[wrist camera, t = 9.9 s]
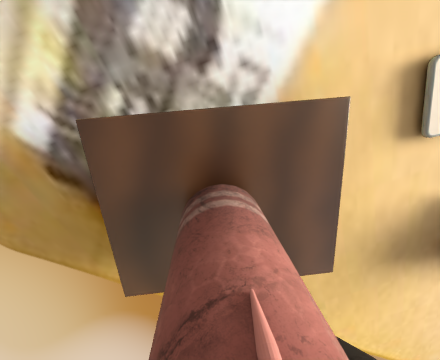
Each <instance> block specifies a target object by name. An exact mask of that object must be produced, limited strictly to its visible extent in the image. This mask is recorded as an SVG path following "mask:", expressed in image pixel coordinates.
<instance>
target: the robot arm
mask: <svg viewBox="0 0 440 360" xmlns="http://www.w3.org/2000/svg"><path fill="white" fill-rule="evenodd" d="M336 338H337V340H338V342H339V343H340V345H341V347H342V348H343V350H344V352H345V353H346V355H347V357H348V359H349V360H376V359H375V358H373V357H372V356H370V355H368V354H366V353H365V352H363V351H361V350H359V349H358V348H356V347H354V346H352V345H350V344H349V343H347V342H345V341H343V340H342V339H340V338H338V337H336Z"/></svg>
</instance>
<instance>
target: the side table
mask: <svg viewBox="0 0 440 360" xmlns="http://www.w3.org/2000/svg"><path fill="white" fill-rule="evenodd" d="M350 99H351V97H350V96H349V97H337V98H326V99H314V100H302V101H290V102H278V103H266V104H255V105H243V106H231V107H219V108H207V109H196V110H184V111H172V112H160V113H148V114H136V115H125V116H113V117H101V118H89V119H77V120H76V123H77V127H78V131H79V134H80V138H81V141H82V145H83V148H84V152H85V155H86V159H87V163H88V166H89V170H90V173H91V177H92V180H93V184H94V187H95V191H96V194H97V198H98V202H99V205H100V209H101V212H102V216H103V219H104V223H105V226H106V230H107V234H108V237H109V241H110V244H111V248H112V251H113V255H114V258H115V262H116V266H117V269H118V273H119V276H120V280H121V283H122V287H123V290H124V294H125V297H127V296H136V295H144V294H153V293H161V292H164V291H165V286H166V282H167V277H168V273H169V269H170V264H171V260H172V255H173V251H174V247H175V242H176V238H177V234H178V229H179V225H180V220H181V216H182V212H183V210H184V208H185V206H186V204H187V202H188V200H189V199H190V198H191V197H192V196H194V195H195V194H196V193H197V192H198V191H200V190H202V189H204V188H206V187H208V186H213V185H219V184H226V185H233V186H237V187H239V188H241V189H243V190H245V191H247V192H248V193H249V194H250V195H251V196H252V197H253V198H254V199H255V201H256V202H257V204H258V206H259V207H260V209H261V211H262V212H263V214H264V216H265V218H266V219H267V221H268V223H269V224H270V226H271V228H272V229H273V231H274V233H275V235H276V236H277V238H278V240H279V241H280V243H281V245H282V246H283V248H284V250H285V252H286V253H287V255H288V257H289V258H290V260H291V262H292V263H293V265H294V267H295V269H296V270H297V272H298V274H299V275H300V276H304V275H312V274H321V273H329V272H333V265H334V256H335V246H336V236H337V226H338V216H339V207H340V197H341V187H342V177H343V167H344V158H345V148H346V138H347V128H348V118H349V108H350Z"/></svg>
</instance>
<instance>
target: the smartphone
mask: <svg viewBox="0 0 440 360" xmlns="http://www.w3.org/2000/svg"><path fill="white" fill-rule="evenodd" d="M421 133H422V135H423V136H424V137H428V138H431V137H436V136H440V55H437V56H435V57H433V58H432V59H431V60H430V62H429V64H428V68H427V78H426V88H425V98H424V109H423V119H422V129H421Z"/></svg>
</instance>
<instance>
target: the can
mask: <svg viewBox="0 0 440 360" xmlns="http://www.w3.org/2000/svg"><path fill="white" fill-rule="evenodd" d="M149 360H349V359H348V357H347V355H346V353H345V352H344V350H343V348H342V347H341V345H340V343H339V342H338V340H337V338H336V336H335V335H334V333H333V331H332V330H331V328H330V326H329V325H328V323H327V321H326V319H325V318H324V316H323V314H322V313H321V311H320V309H319V308H318V306H317V304H316V302H315V301H314V299H313V297H312V296H311V294H310V292H309V291H308V289H307V287H306V286H305V284H304V282H303V280H302V279H301V277H300V275H299V274H298V272H297V270H296V269H295V267H294V265H293V263H292V262H291V260H290V258H289V257H288V255H287V253H286V252H285V250H284V248H283V246H282V245H281V243H280V241H279V240H278V238H277V236H276V235H275V233H274V231H273V229H272V228H271V226H270V224H269V223H268V221H267V219H266V218H265V216H264V214H263V212H262V211H261V209H260V207H259V206H258V204H257V202H256V201H255V199H254V198H253V197H252V196H251V195H250V194H249V193H248V192H247V191H245V190H243V189H241V188H239V187H237V186H233V185H226V184H219V185H213V186H208V187H206V188H204V189H202V190H200V191H198V192H197V193H196V194H195V195H194V196H192V197H191V198H190V199H189V200H188V202H187V204H186V206H185V208H184V210H183V212H182V216H181V220H180V225H179V229H178V234H177V238H176V242H175V247H174V251H173V255H172V260H171V264H170V269H169V273H168V277H167V282H166V286H165V291H164V295H163V299H162V304H161V308H160V312H159V317H158V321H157V326H156V330H155V334H154V339H153V343H152V348H151V352H150V357H149Z"/></svg>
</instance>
